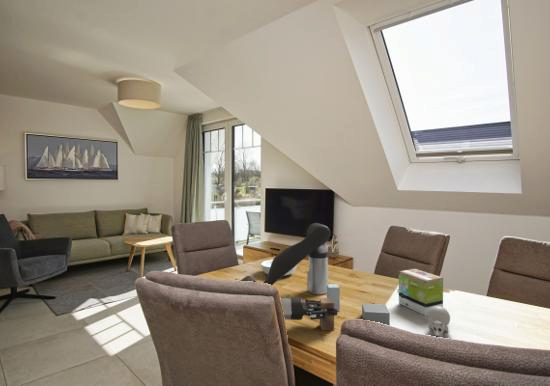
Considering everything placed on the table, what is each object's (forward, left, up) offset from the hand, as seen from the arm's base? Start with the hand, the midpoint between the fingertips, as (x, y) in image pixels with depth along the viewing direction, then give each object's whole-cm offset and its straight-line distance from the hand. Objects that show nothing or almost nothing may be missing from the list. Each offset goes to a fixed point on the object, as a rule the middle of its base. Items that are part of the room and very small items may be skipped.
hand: (335, 309), depth 120 cm
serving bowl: (-63, +37, -7) cm, 74 cm away
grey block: (+8, +16, -7) cm, 19 cm away
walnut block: (-2, -2, -7) cm, 7 cm away
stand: (+2, +56, -7) cm, 56 cm away
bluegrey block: (-10, +14, -7) cm, 19 cm away
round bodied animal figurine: (+29, +22, -7) cm, 37 cm away
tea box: (+16, +40, -7) cm, 43 cm away
